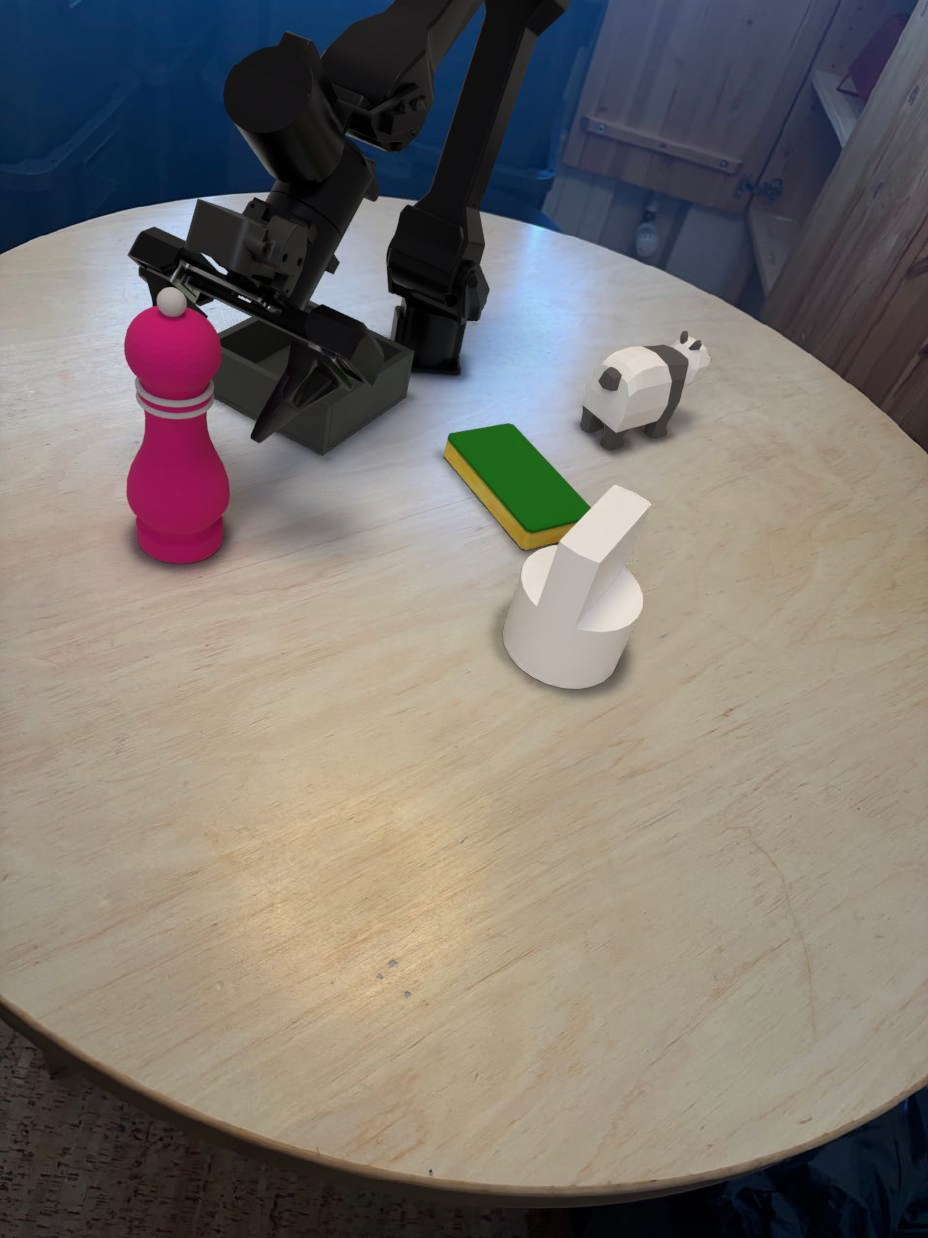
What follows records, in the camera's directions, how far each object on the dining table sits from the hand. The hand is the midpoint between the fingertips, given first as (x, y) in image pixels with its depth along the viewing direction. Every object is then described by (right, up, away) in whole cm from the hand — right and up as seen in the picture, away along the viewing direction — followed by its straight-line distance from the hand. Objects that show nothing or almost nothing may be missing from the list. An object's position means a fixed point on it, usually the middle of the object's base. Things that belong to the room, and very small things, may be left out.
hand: (201, 413), depth 67 cm
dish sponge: (+23, -4, +17) cm, 29 cm away
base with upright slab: (+26, -16, +5) cm, 31 cm away
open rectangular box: (+4, +7, +22) cm, 23 cm away
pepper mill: (-3, -8, +5) cm, 10 cm away
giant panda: (+35, +5, +29) cm, 46 cm away
